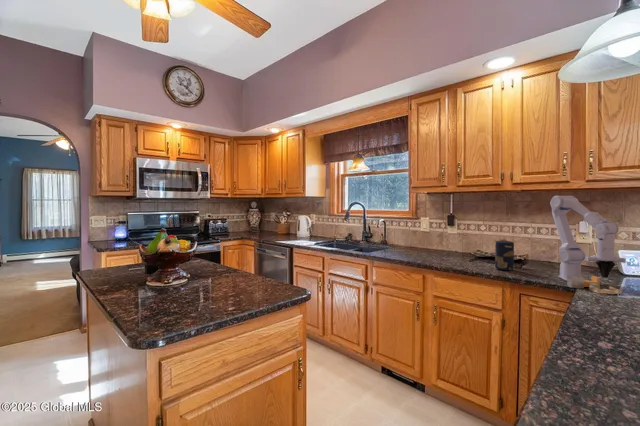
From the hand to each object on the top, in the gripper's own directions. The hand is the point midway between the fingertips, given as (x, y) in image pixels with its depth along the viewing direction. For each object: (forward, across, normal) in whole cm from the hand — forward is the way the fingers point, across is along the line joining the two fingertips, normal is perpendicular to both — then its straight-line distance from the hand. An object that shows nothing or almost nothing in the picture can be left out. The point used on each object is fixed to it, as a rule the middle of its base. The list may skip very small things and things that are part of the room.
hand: (604, 277), depth 144 cm
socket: (+5, -6, 0) cm, 8 cm away
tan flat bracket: (+5, -4, -8) cm, 10 cm away
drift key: (+5, -6, 0) cm, 8 cm away
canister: (+6, -32, +33) cm, 46 cm away
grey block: (+5, -12, 0) cm, 13 cm away
